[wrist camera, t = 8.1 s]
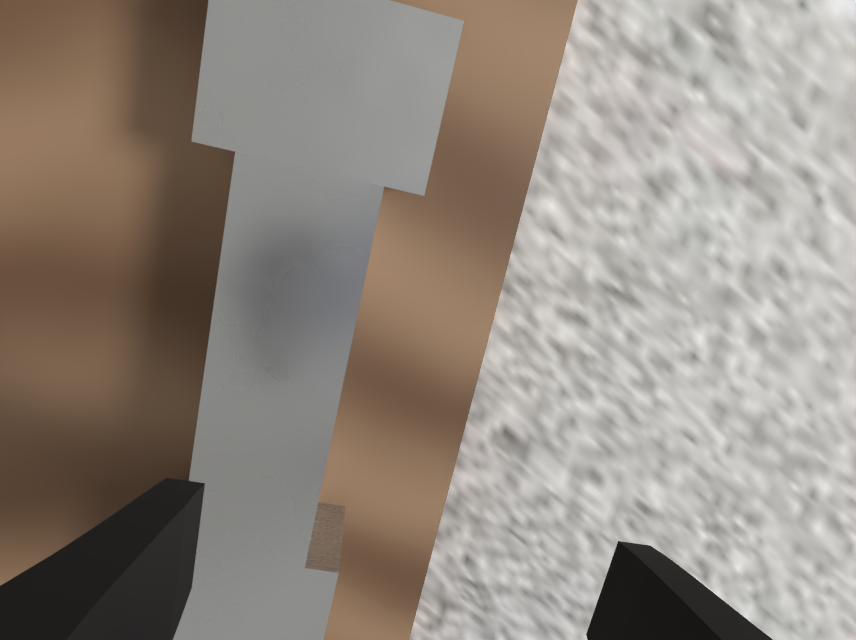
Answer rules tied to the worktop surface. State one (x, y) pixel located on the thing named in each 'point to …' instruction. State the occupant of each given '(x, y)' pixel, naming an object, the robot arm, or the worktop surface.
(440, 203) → the rack board
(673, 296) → the worktop surface
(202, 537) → the grey stepped bar
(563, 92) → the worktop surface
